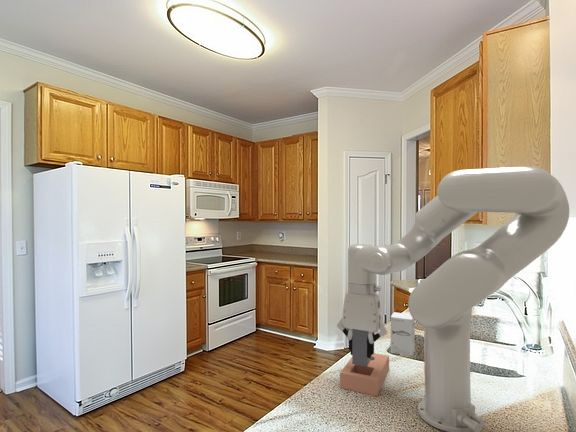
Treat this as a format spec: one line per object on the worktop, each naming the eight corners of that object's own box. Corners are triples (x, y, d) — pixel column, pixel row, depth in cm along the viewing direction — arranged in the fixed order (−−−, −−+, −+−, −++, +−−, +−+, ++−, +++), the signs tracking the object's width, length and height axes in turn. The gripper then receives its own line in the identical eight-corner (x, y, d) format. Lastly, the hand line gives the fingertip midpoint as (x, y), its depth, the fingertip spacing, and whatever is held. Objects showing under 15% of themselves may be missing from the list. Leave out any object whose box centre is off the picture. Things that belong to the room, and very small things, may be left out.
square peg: (356, 358, 93) (356, 323, 94) (370, 361, 92) (370, 325, 92) (352, 363, 90) (352, 327, 90) (366, 366, 88) (366, 329, 88)
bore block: (356, 362, 105) (356, 350, 105) (389, 368, 100) (388, 355, 100) (340, 387, 89) (340, 372, 89) (377, 396, 84) (377, 380, 84)
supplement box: (390, 353, 113) (389, 316, 113) (393, 346, 119) (393, 311, 120) (412, 357, 109) (412, 319, 110) (415, 349, 116) (415, 313, 116)
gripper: (394, 289, 91) (394, 355, 91) (336, 284, 98) (336, 345, 98) (390, 294, 84) (390, 366, 84) (328, 288, 92) (328, 354, 91)
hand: (361, 354), depth 91 cm, fingers closed on square peg, 4 cm apart
